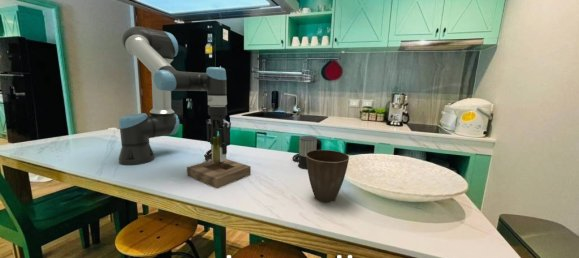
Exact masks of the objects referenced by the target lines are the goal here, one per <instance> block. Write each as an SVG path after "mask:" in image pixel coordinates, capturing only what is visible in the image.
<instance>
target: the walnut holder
mask: <svg viewBox="0 0 579 258" xmlns="http://www.w3.org/2000/svg"><path fill="white" fill-rule="evenodd" d="M251 169H252V167H251V165H248V164H244V163H241V162H238V161H234V160H231V159H228V158H226V161H225V162H223V163H214V161H213V159H212V160H211V159H209V160H208V161H204V162H200V163H197V164H193V165H190V166H186V174H187V175H186V176H187V177H188V178H191V179H194V180H196V181H198V182H200V183H203V184H206V185H208V186H210V187H213V188H214V189H220V188H222V187H225V186H226V185H229V184H232V183H235V182H236V181H239V180H241V179H243V178H246V177H249V176H251Z"/></svg>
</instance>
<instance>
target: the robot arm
mask: <svg viewBox="0 0 579 258" xmlns="http://www.w3.org/2000/svg"><path fill="white" fill-rule="evenodd" d="M121 42H122V45H123V47H124V49H125V50H126V51H127V52H128V53H129V54H130V55H132V56H135V57H136V58H137V59H138V60H139V61H140V62H141V63H142V64H143V65H144V66H145V67H146V69H148V71H149V72H150V73H151V92H152V109H150V111H149V115H147V113H144V112H141V113H132V114H126V115H124V116H122V117H120V118H119V120H118V121H119V126H118V127H119V135H120V140H121V141H120V142H121V149H120V153H119V156H118V162H119V163H118V164H120V165H124V166H134V165H141V164H146V163H149V162H152V161H154V160H155V153H154V151H153V149H152V147H151V144H150V139H153V138H158V137H159V138H160V137H168V136H171V135H175V134H176V133H177V132H178V131H179V129H180V119H179V116H178V115H177V113H175V111H174V110H173V109H172V92H173V91H175V92H176V91H177V92H178V91H179V92H181V91H182V92H183V91H185V92H186V91H192V92H193V91H195V92H197V91H198V92H199V91H200V92H207V106H208V107H207V115H208V116H210V117H209V119H206V120H205V124H206V139H207V140H206V141H207V143H209V144H210V149H211V151H212V152H211V153H212V160H213V137H216V139H217V136H218V135H219V137H220V142H221V146H220V162H223V161H226V159H227V154H228V149H227V148H228V146H231V124H232V122H231V121H227V119H226V116H227V115H228V107H227V105H228V99H227V98H228V97H227V80H228V79H227V72H226V69H225V68H224V67H218V66H217V67H216V66H215V67H214V66H209V67H207V68H206V72H192V71H179V70H176V68H174V66H172V65H171V63H172V62H173V61H174V57H176V56H177V55H178V53H179V43H178V40H177V39H176V36H174V35H173V34H172V33H171V32H168V31H164V30H158V29H153V28H149V27H144V26H132V27H129V28H127V29H125V30H124V31H123V33H122V37H121Z"/></svg>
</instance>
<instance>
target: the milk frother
mask: <svg viewBox="0 0 579 258" xmlns="http://www.w3.org/2000/svg"><path fill="white" fill-rule="evenodd" d="M298 139H299V143H298V145H299V146H298V152H299V153H296V154H294V155H293V156H292V157H291V158H292V160H293V162H298V164H297V167H299V169H300V168H301V169H303V170H307V162H306V153H307V152H310V151H314V150H322V146H323V143H322V141H321V139H319V138H318V137H317V136H312V135H301V136H299V137H298Z"/></svg>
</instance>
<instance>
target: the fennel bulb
mask: <svg viewBox="0 0 579 258" xmlns="http://www.w3.org/2000/svg"><path fill="white" fill-rule="evenodd" d="M220 146H221V142H220V137H219V134H217V139H216V137H213V159H212V160H213V161H214V163H223V162H225V161H223V162H220Z"/></svg>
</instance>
